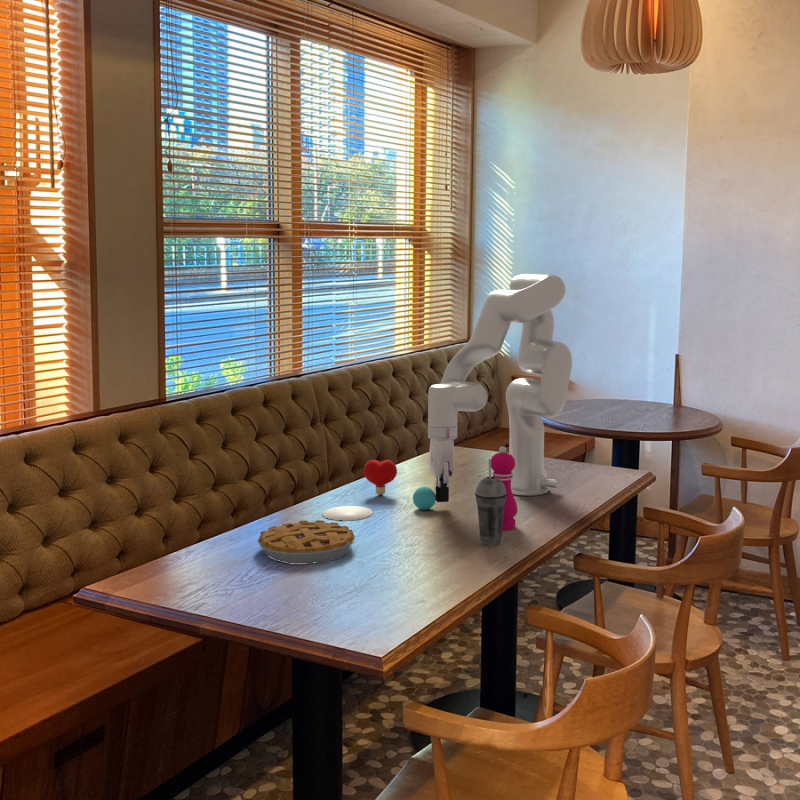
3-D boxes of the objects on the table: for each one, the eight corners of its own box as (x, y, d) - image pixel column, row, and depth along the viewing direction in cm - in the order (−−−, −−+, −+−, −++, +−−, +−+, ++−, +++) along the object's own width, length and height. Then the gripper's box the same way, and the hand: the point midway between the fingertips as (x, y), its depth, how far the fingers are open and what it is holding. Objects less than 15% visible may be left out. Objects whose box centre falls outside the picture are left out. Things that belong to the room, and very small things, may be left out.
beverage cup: (509, 539, 216) (510, 455, 213) (502, 549, 209) (503, 462, 206) (479, 536, 218) (479, 453, 215) (471, 546, 212) (471, 460, 208)
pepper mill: (521, 524, 228) (521, 444, 225) (512, 532, 221) (512, 450, 218) (493, 521, 231) (493, 442, 228) (483, 529, 224) (483, 448, 221)
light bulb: (398, 492, 260) (398, 457, 258) (396, 499, 253) (395, 463, 251) (365, 492, 261) (364, 457, 259) (362, 498, 254) (361, 462, 252)
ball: (437, 483, 243) (415, 480, 241) (439, 501, 238) (416, 498, 237) (432, 498, 247) (410, 495, 246) (433, 515, 242) (411, 513, 241)
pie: (278, 574, 196) (277, 551, 195) (245, 546, 215) (244, 525, 214) (371, 557, 206) (370, 535, 205) (332, 531, 225) (331, 511, 224)
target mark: (381, 509, 242) (381, 509, 242) (357, 523, 231) (357, 522, 231) (338, 504, 248) (338, 503, 248) (312, 517, 237) (312, 516, 237)
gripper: (422, 427, 246) (422, 494, 249) (434, 438, 232) (433, 509, 234) (450, 426, 248) (450, 493, 250) (463, 437, 233) (462, 508, 236)
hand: (442, 501), depth 242 cm, fingers closed
